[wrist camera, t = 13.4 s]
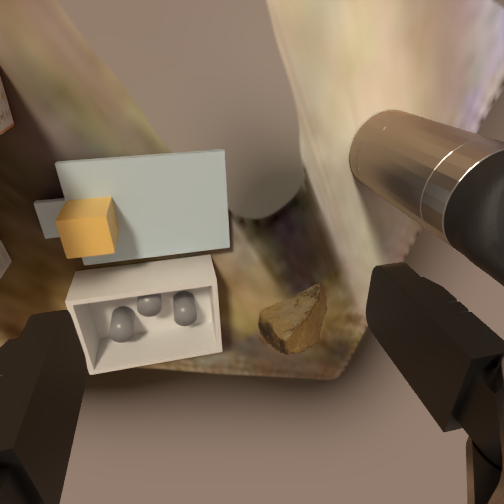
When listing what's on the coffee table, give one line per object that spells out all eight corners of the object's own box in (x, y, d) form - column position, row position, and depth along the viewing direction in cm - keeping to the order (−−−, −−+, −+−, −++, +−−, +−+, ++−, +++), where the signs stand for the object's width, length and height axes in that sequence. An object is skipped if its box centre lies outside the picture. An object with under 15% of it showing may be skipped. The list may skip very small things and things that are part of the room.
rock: (335, 272, 50) (267, 287, 47) (359, 335, 47) (288, 355, 44) (307, 296, 59) (248, 310, 56) (325, 349, 56) (265, 366, 53)
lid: (221, 146, 40) (233, 164, 34) (227, 239, 46) (237, 269, 40) (27, 160, 37) (2, 183, 31) (59, 259, 43) (43, 295, 37)
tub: (210, 254, 47) (216, 280, 42) (215, 321, 52) (222, 351, 47) (75, 271, 44) (64, 301, 39) (96, 340, 49) (89, 374, 44)
